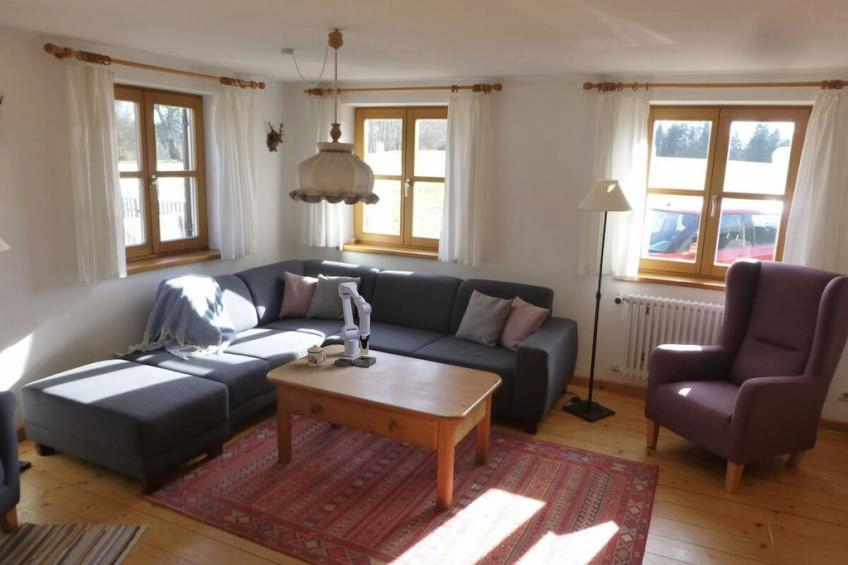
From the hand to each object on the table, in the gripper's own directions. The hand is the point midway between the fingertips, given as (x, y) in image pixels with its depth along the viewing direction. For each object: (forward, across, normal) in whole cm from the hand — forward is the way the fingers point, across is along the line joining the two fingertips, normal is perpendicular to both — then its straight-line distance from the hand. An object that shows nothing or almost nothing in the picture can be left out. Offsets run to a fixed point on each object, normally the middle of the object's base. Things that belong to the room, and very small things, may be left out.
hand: (364, 347), depth 354 cm
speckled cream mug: (+10, +3, -27) cm, 29 cm away
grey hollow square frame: (+10, +2, -12) cm, 15 cm away
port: (+10, 0, 0) cm, 10 cm away
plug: (+4, 0, 0) cm, 4 cm away
